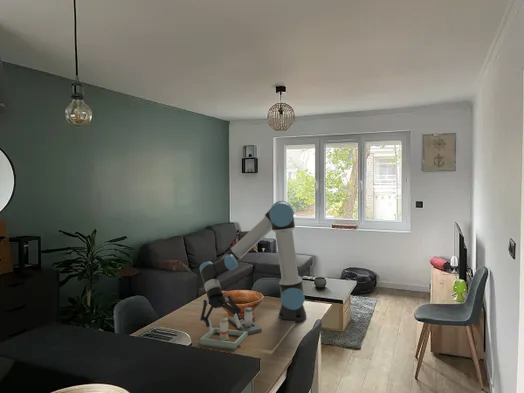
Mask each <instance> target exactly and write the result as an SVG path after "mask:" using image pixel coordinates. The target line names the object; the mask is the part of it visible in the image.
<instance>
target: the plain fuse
mask: <svg viewBox="0 0 524 393" xmlns="http://www.w3.org/2000/svg"><path fill="white" fill-rule="evenodd" d="M243 312H244V314H243V315H244V327H245V328H249V327H252V322H253V308H252V306H251V307H250V306H247V307H244V308H243Z"/></svg>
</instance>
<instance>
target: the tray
mask: <svg viewBox="0 0 524 393" xmlns="http://www.w3.org/2000/svg"><path fill="white" fill-rule="evenodd" d="M212 328H213V333H212V334H210V330H208V332H206V333H205V334H204V335H203V336H201V337H200V338H199V341H200V343H199V344H200V346H206V347H214V348H220V349H228V350H233V351H237V349H238V348H239V347H240V344H241V343H242V342H243V341H244V340H245V339H246V338H247V337H248V335H249V334H248V332H247V331H242V330H240V329H239V330H237V329H229V328H228V330H229V333H228V335H231V336H238V338H237V339H236V340H235V341H229V340H227V341H222V340H220V339H215V338H213V339H212V338H210V337H212V336H213V335H214V334H216V333H217V334H220V327H212Z"/></svg>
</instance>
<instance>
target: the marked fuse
mask: <svg viewBox="0 0 524 393" xmlns="http://www.w3.org/2000/svg"><path fill="white" fill-rule="evenodd" d="M219 328H220V333H219V340H222V341H229V339H230V338H229V335H230V334H228V333H229V330H228V329H229V320H228V317H227V316H221V317H219Z"/></svg>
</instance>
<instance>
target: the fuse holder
mask: <svg viewBox="0 0 524 393" xmlns="http://www.w3.org/2000/svg"><path fill="white" fill-rule="evenodd" d="M231 316H232V315H231ZM231 316H228V317H227V318H228V322H231V323H232V324H233V325H234V326H236V327H237V325H236V322H235V319H234V317H231ZM241 319H243V320H244V317H240V320H241ZM239 322H240V325H241V326H240V328H238V329H239V331H247V332H248V335H252V334H257V333H261V332H262V331H263V329H262V327H261V326H259V325H258V324H256V323H255V322H253V321H252V327H249V328H245V327H244V321H239Z"/></svg>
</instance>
